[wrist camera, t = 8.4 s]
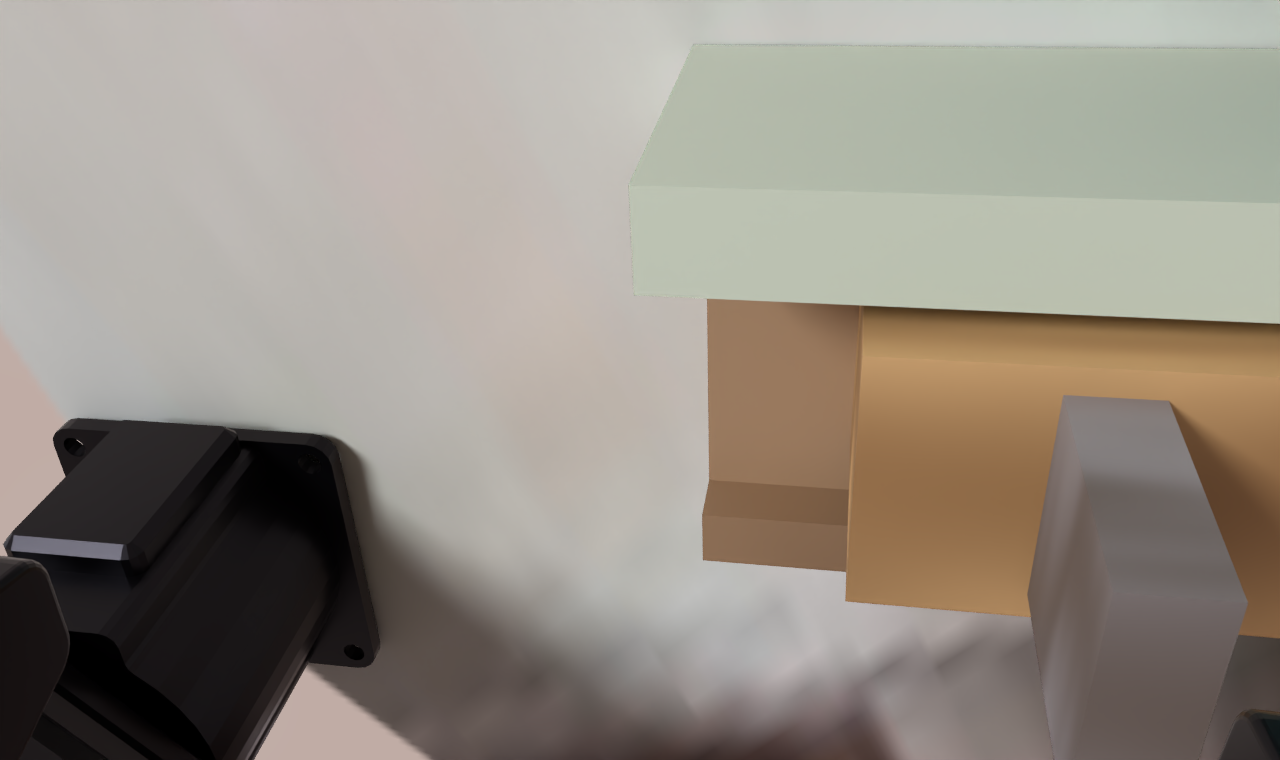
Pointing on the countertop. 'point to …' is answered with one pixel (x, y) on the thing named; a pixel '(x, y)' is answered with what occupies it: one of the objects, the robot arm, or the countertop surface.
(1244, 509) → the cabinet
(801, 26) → the countertop surface
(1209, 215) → the wooden stand with panel
